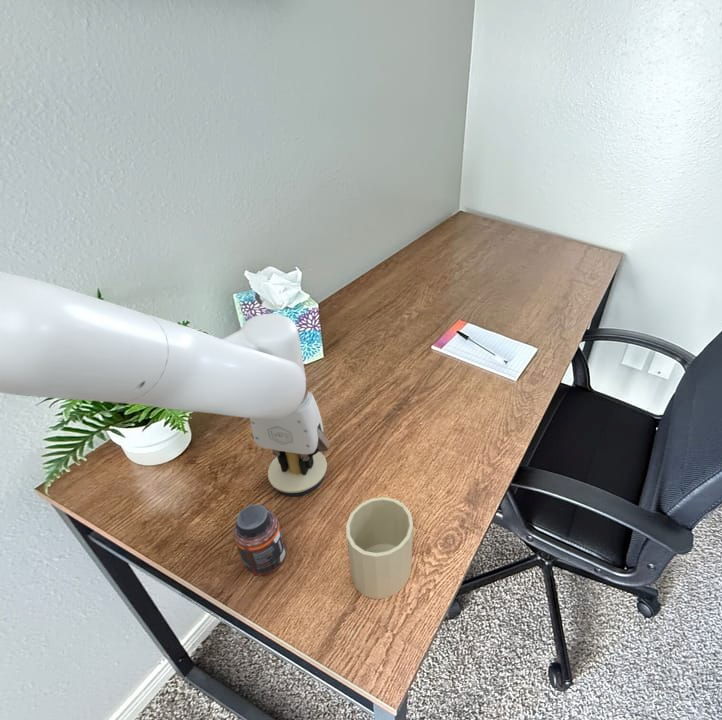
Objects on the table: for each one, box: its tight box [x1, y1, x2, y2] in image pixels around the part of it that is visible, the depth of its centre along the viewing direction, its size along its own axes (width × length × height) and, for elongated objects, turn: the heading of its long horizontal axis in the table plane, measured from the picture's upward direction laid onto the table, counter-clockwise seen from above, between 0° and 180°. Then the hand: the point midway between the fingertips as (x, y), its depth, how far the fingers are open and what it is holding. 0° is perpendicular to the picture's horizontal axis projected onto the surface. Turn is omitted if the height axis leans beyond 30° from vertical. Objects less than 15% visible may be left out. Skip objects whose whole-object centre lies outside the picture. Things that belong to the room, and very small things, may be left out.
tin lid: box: [267, 452, 328, 493], centre depth 81 cm, size 10×10×7 cm
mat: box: [273, 474, 326, 498], centre depth 83 cm, size 9×9×1 cm
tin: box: [345, 496, 414, 600], centre depth 68 cm, size 9×9×12 cm
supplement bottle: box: [232, 503, 287, 577], centre depth 68 cm, size 6×6×11 cm
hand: (297, 466), depth 82 cm, fingers closed on tin lid, 2 cm apart
